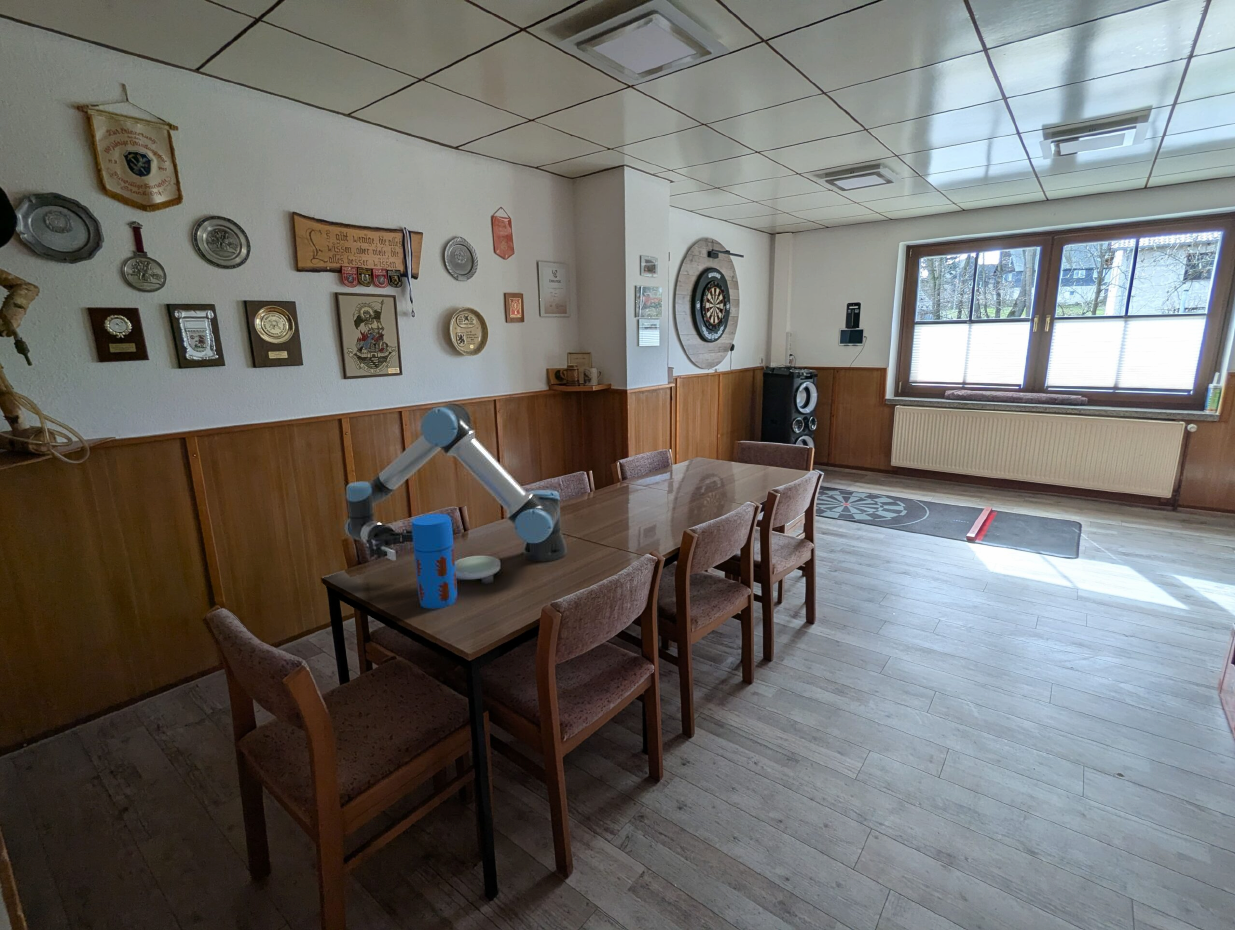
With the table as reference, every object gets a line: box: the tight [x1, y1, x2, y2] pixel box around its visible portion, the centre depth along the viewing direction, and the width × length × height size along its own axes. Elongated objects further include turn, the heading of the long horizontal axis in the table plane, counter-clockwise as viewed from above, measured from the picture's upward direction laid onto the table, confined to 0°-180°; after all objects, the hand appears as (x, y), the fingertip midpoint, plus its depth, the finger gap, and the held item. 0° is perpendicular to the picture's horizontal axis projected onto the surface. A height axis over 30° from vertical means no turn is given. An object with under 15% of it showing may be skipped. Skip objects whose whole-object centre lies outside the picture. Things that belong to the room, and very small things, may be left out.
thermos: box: [411, 513, 458, 610], centre depth 165 cm, size 11×11×25 cm
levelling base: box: [455, 555, 501, 584], centre depth 184 cm, size 16×16×4 cm
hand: (415, 549), depth 171 cm, fingers open, 13 cm apart
